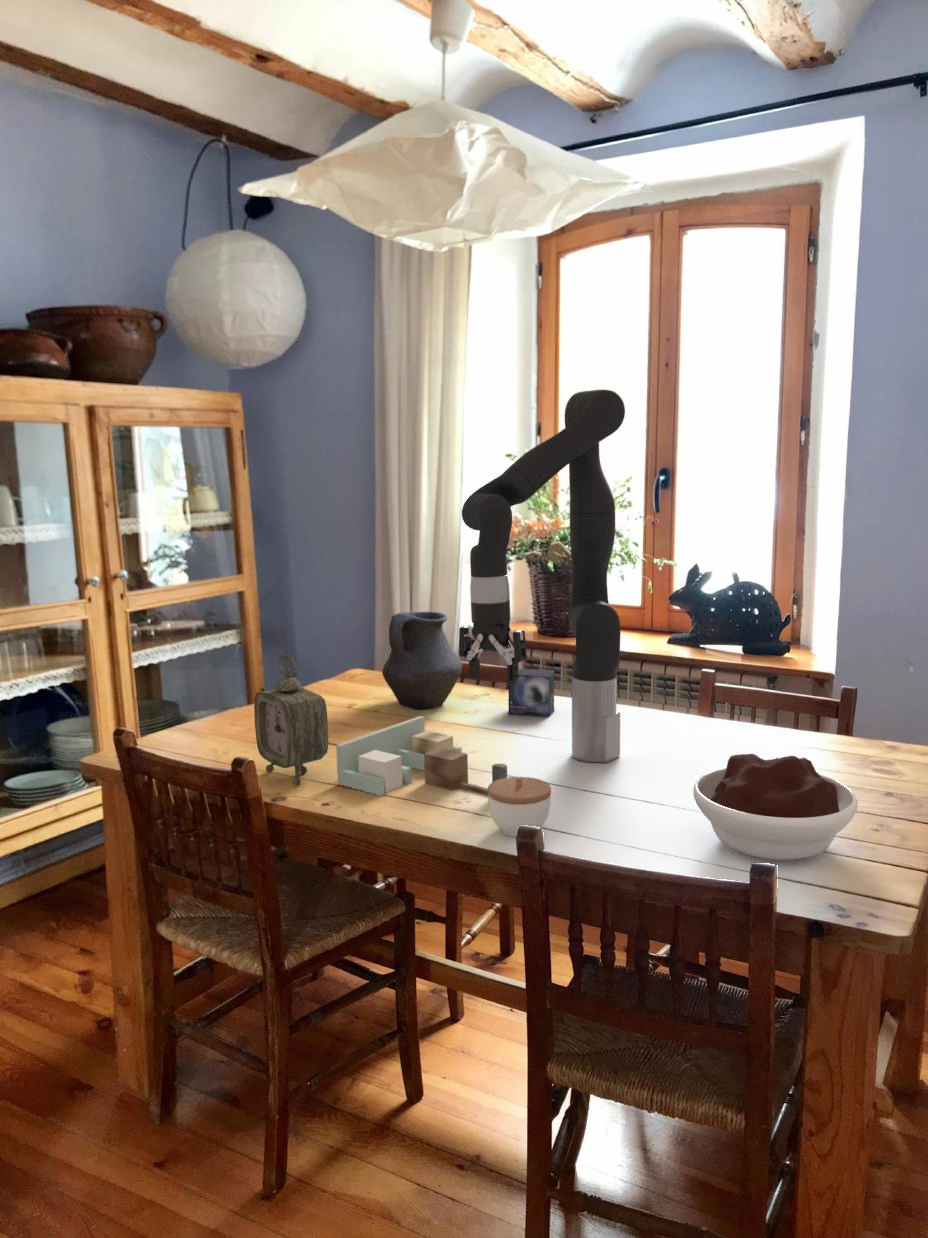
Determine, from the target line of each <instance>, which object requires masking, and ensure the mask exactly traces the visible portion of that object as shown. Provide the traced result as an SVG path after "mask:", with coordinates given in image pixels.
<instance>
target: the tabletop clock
mask: <svg viewBox="0 0 928 1238" xmlns="http://www.w3.org/2000/svg"><path fill="white" fill-rule="evenodd" d="M283 659H286V660H287V659H288V660H289V661H290V662H292V664H293V667H294V672H293V673H291V672H292V671H291V668H286V669H285V670H284V668H282V664H281V662H282V660H283ZM277 661H278V663H277V665H278V668H279V671H280V672H281V673H282V674H283V675H284V676H285V677H283V678H280V679H279V680H278V682H277V683H276V685H275V688H274V689H270V690H269V689H268V690H264V691H259V692H257V693H255V695H254V705H253V706H254V707H253V709H254V713H253V714H254V728H255V737H256V738H255V739H256V745H257V749H258V753H259V755H260V756H261V757H262V758H263V759H264V760H265V761H267V762H268V763H270V764H267V765H266V766H265V771H266V772H267V773H269V772H270V773H272V772H274V771H275V770H274V769H275V768H274V766H277V767H280V768H283V769H287V768H288V769H289V768H292V767H294V772H295V773H294V775H295V776H294V777H293V779H292V781H291V782H292V785H294V786H295V785H297V786H299V785H301V782H302V781H301V778H300V777H299V775H300V774H301V773H305V774H306V773H307V772H308V767H307V766H305V765H304V764H308V763H311V762H312V763H313V762H315V761H319V760H323V758H324V757H325V756H326V755H327V753H328V750H329V721H328V709H327V703H326V699H325V698H324V697H323V696H322V695H321V694H319V693H315V692H314V691H311V690H309V689H307V688H304V687H302V684H301V682H300V681H299V680H298V678H296V677H295V676H296V674H297V672H298V666H297V665H298V664H297V662H296V660H295V659H294V658H293V657H292V656H290V655H288V654H282V655H280V656H279V658H278V660H277Z"/></svg>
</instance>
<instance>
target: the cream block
mask: <svg viewBox="0 0 928 1238" xmlns="http://www.w3.org/2000/svg"><path fill="white" fill-rule="evenodd" d="M358 764H359V773H362V774H366V775H370V776H374V777H377V778H381V779H384V793H388V792H390V791H392V790H393V791H394V790H395V789H396V788H399V787H402V786H403V783H402V766H403V765H402V756H399V755H395V754H390V753H386V752H382V751H377V750H374V751H371V752H368V753H365V754H363V755H360V756H358Z"/></svg>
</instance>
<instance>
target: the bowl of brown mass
mask: <svg viewBox="0 0 928 1238" xmlns="http://www.w3.org/2000/svg"><path fill="white" fill-rule="evenodd" d="M726 764H727V765H726V767H724V768H720V769H719V768H718V769H715V770H712V771H709V772H707V773H705V774H703V775H702V776H700V777H699V778H698V779H697V780H696V781H695V783H694V785H693V789H692V791H693V794H692V795H693V799H694V801H695V803H696V805H697V807H698V809H699V810H700V811H701V813H702V814H703V815H704V816H705V817H706V819H707V820H708V821H709V822H710V824H711V826H712V829H713V831H714V833H715V835H716V837H717V839H719V841H720V842H721V843H723V844H724V845H726V846H728V847H729V848H731V849H733V850H735V851H737V852H739V853H741V854H745V855H747V856H751V857H756V858H761V859H767V860H780V861H781V860H782V861H794V860H802V859H808V858H812V857H815V856H817V855H820V854H822V853H824V852H825V851H826V850H828V848H830V846H831V844H832V843H833V841H834V839H835V837H836V835H837V834H838V833H840V832H841V831H842V830H844V829H845V827H847V825H848V824H849V823H850V822H851V821H852V820H853V818H854V816H855V815H856V813H857V810H858V800H857V797H856V794H855V793H854V791H852V790H851V789H850V788H849V787H848V786H846V785H845V784H843V783H842V782H840V781H837V780H836V779H833V778H831V777H828V776H825V775H822V774H819V773H818V772H817V771H816V769H815V767H814V764H813V762H812V761H811V760H809V759H808V758H806V757H801V758H800V757H798V756H796V755H789V756H782V757H776V758H773V759H772V758H771V759H764V758H761V757H759V756H758V755H757V754H754V753H745V754H744V753H743V754H732V755H731V756H730V757H728V760H727V763H726Z"/></svg>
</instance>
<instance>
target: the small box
mask: <svg viewBox="0 0 928 1238" xmlns="http://www.w3.org/2000/svg"><path fill="white" fill-rule="evenodd" d="M507 685H508V715H514V716H527V717H528V716H531V717H540V718H541V717H543V718H550V717H551V716H552V715H553V713H554V712H555V670H554V669H553V670H552V669H539V668H538V669H537V668H522V667H521V668H519V667H518V680H516V682H515V683H512V684H509V683H508V682H507Z"/></svg>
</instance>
